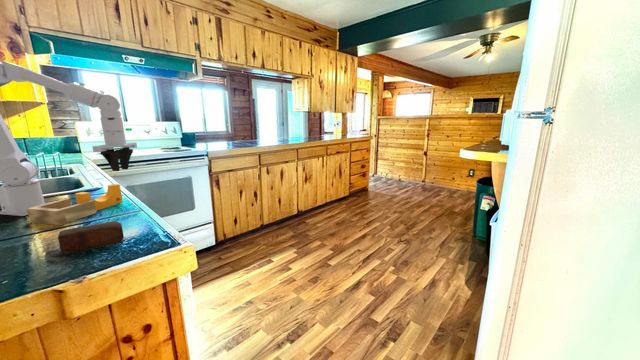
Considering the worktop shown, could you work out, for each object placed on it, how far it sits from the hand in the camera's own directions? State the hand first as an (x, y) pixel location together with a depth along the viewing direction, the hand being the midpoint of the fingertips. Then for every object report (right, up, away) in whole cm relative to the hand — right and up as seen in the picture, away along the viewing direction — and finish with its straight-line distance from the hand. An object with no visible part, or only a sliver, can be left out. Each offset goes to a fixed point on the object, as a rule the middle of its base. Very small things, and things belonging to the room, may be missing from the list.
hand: (120, 170), depth 90 cm
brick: (+20, -19, -32) cm, 42 cm away
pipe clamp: (-1, -13, -7) cm, 15 cm away
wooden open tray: (-3, -14, -16) cm, 21 cm away
